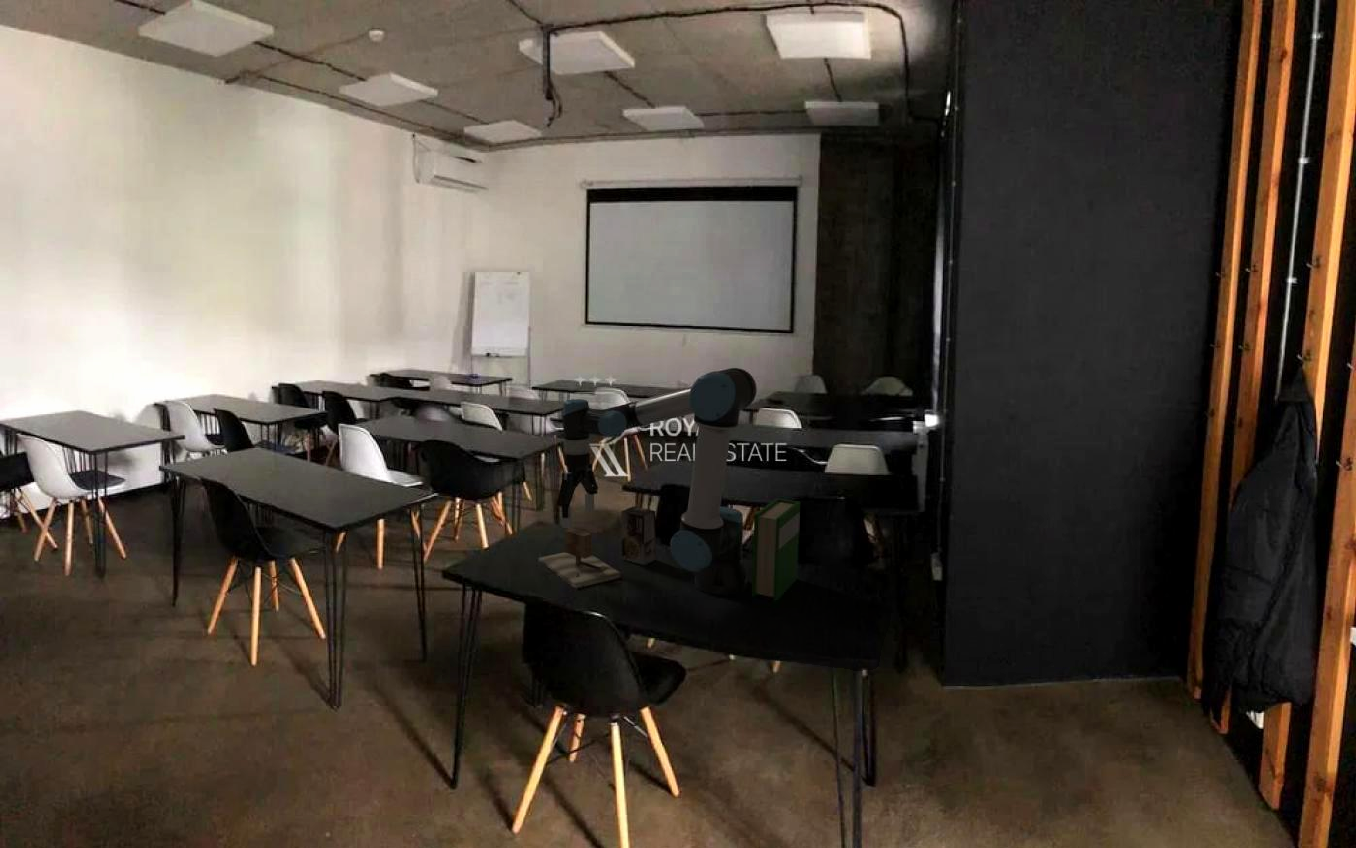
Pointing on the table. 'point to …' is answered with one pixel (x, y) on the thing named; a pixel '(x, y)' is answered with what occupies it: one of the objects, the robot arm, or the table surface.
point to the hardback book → (775, 548)
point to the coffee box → (638, 535)
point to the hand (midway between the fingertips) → (578, 521)
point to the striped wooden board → (579, 569)
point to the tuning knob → (579, 546)
